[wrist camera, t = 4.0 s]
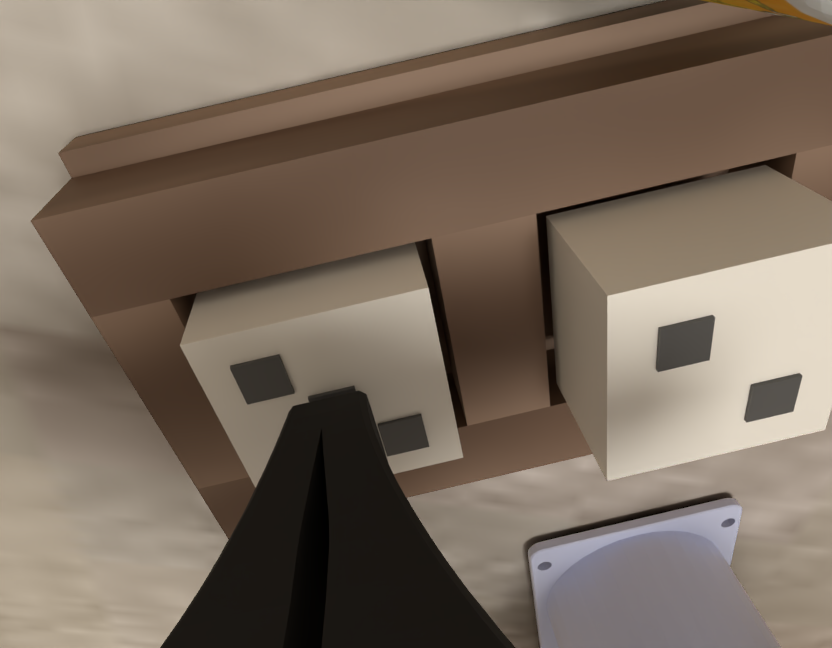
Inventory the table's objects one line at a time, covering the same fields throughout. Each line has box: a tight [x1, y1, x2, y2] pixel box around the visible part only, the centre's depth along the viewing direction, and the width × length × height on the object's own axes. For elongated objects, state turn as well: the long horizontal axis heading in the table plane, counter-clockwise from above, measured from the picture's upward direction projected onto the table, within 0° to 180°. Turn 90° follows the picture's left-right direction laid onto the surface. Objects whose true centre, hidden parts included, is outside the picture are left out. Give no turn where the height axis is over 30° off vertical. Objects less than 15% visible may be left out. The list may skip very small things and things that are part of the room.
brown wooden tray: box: [31, 0, 832, 539], centre depth 14 cm, size 10×22×3 cm, turn 101°
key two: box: [546, 165, 832, 481], centre depth 12 cm, size 4×4×3 cm
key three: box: [180, 242, 463, 488], centre depth 13 cm, size 4×4×3 cm
